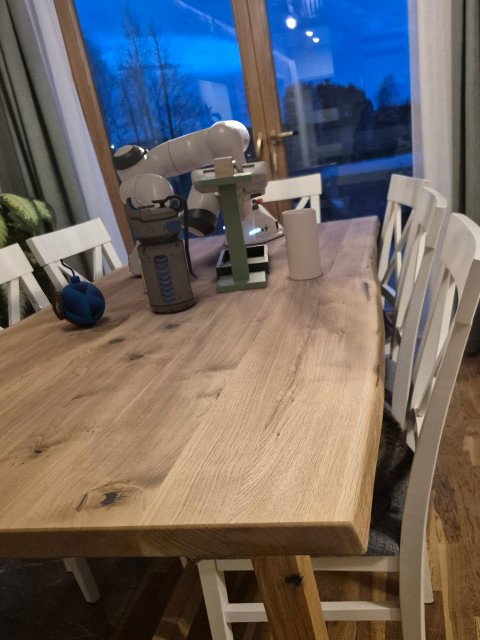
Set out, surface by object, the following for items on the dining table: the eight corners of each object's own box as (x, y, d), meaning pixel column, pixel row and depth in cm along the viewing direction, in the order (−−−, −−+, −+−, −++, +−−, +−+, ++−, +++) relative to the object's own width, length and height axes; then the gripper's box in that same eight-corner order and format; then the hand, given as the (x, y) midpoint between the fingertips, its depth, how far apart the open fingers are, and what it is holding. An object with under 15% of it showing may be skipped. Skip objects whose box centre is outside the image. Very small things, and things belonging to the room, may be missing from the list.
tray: (223, 260, 179) (221, 250, 177) (268, 255, 179) (267, 244, 177) (217, 280, 155) (215, 268, 154) (269, 273, 155) (267, 261, 154)
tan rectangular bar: (221, 172, 152) (219, 156, 150) (236, 170, 152) (234, 154, 150) (215, 178, 132) (212, 159, 130) (233, 176, 132) (230, 157, 130)
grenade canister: (205, 309, 130) (183, 192, 119) (146, 317, 129) (119, 200, 118) (205, 297, 139) (185, 188, 129) (150, 306, 138) (125, 196, 128)
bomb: (54, 328, 130) (34, 261, 123) (101, 315, 135) (84, 250, 129) (67, 336, 122) (46, 266, 116) (116, 322, 128) (99, 254, 122)
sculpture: (145, 283, 186) (177, 264, 186) (138, 286, 169) (173, 265, 169) (125, 252, 183) (158, 233, 183) (116, 251, 166) (152, 231, 166)
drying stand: (220, 281, 153) (203, 177, 142) (265, 276, 153) (251, 171, 142) (217, 293, 142) (198, 181, 131) (266, 287, 142) (250, 174, 131)
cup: (284, 280, 147) (276, 214, 140) (297, 272, 153) (289, 209, 147) (315, 279, 143) (308, 212, 137) (326, 271, 150) (320, 207, 143)
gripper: (194, 181, 160) (184, 155, 146) (268, 172, 160) (264, 145, 146) (197, 203, 159) (187, 179, 145) (270, 193, 159) (267, 169, 146)
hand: (226, 162), depth 146 cm, fingers closed on tan rectangular bar, 2 cm apart
